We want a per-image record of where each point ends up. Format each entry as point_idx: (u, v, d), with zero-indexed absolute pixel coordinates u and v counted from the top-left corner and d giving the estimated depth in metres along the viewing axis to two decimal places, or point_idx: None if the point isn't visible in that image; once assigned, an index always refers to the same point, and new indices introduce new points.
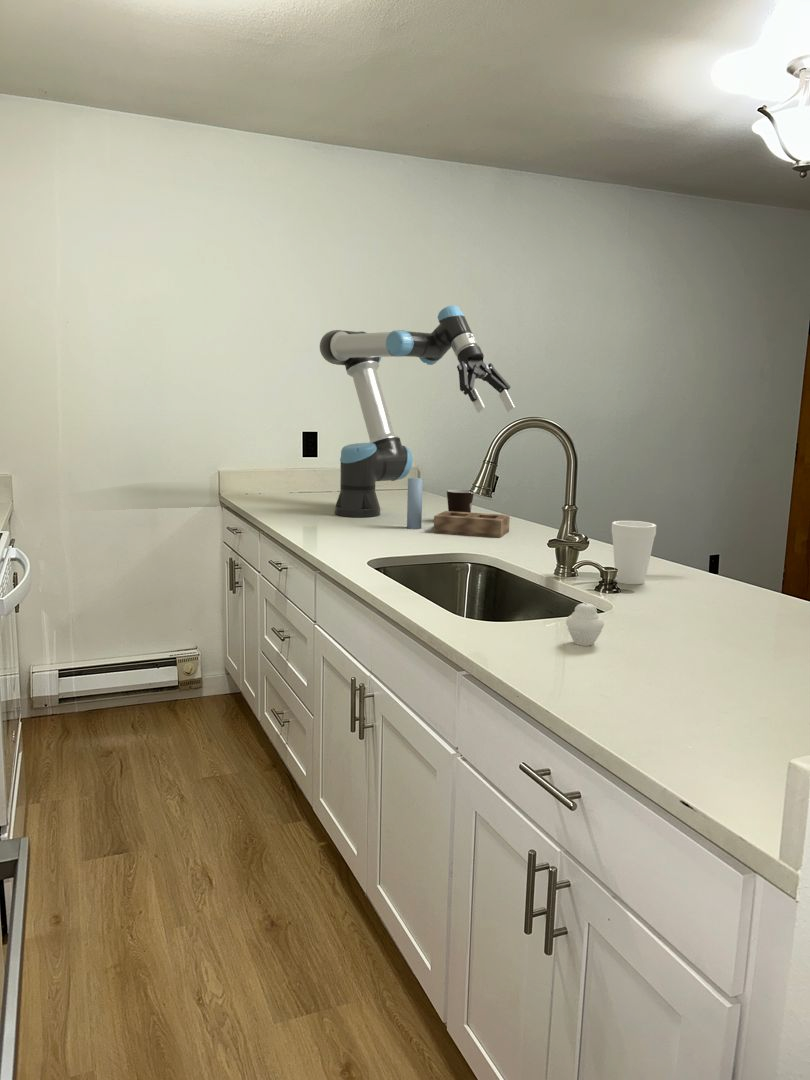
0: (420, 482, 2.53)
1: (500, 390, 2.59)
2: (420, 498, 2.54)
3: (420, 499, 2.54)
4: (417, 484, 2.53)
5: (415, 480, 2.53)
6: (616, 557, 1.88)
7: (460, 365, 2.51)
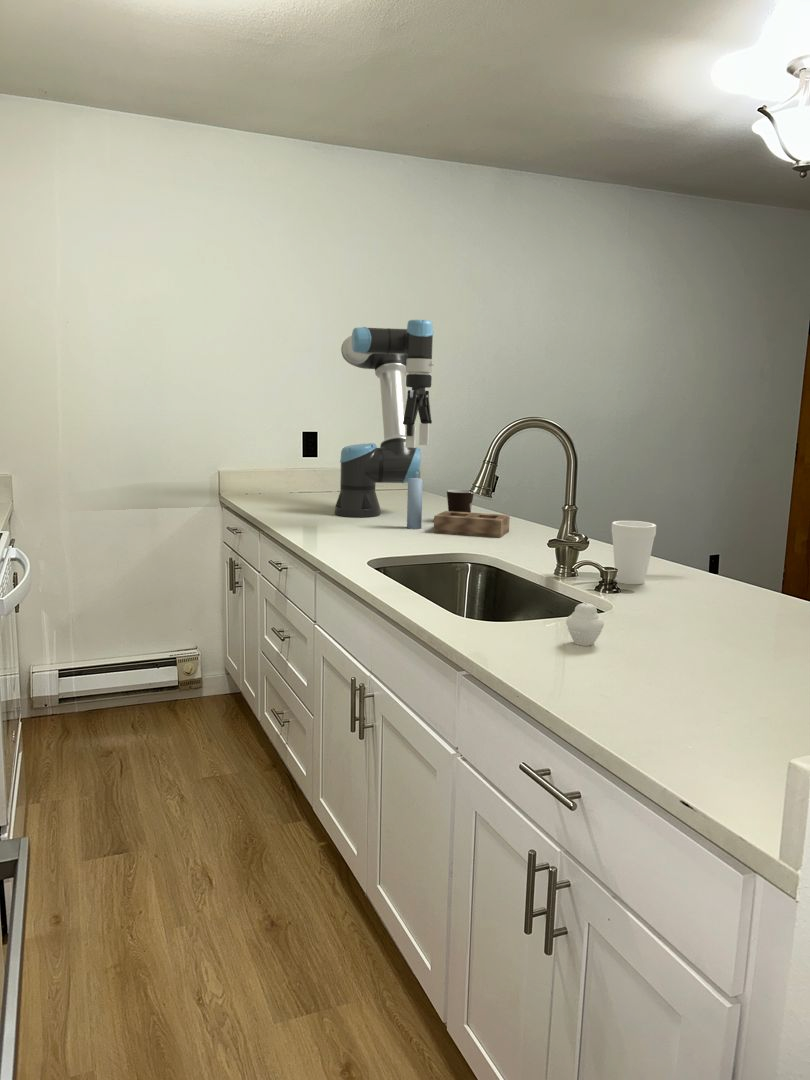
0: (420, 482, 2.53)
1: (422, 419, 2.59)
2: (420, 498, 2.54)
3: (420, 499, 2.54)
4: (417, 484, 2.53)
5: (415, 480, 2.53)
6: (616, 557, 1.88)
7: (412, 393, 2.44)
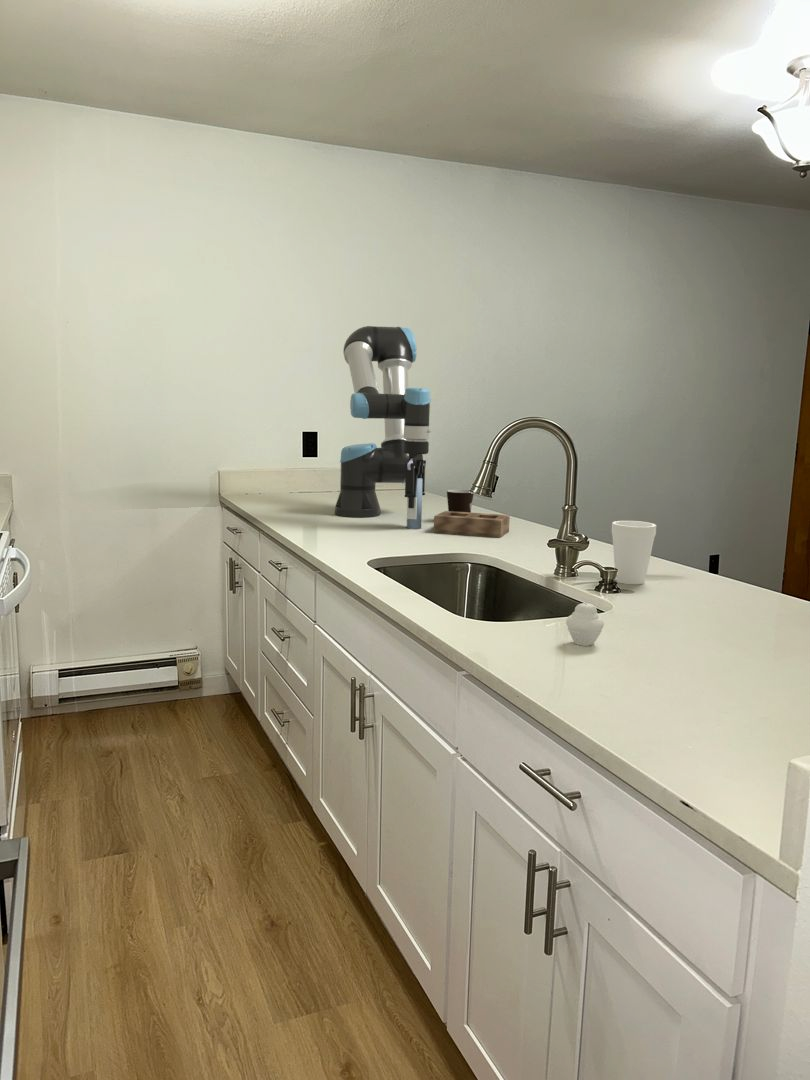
0: (420, 482, 2.53)
1: None
2: (420, 498, 2.54)
3: (420, 499, 2.54)
4: (417, 484, 2.53)
5: None
6: (616, 557, 1.88)
7: (410, 467, 2.48)
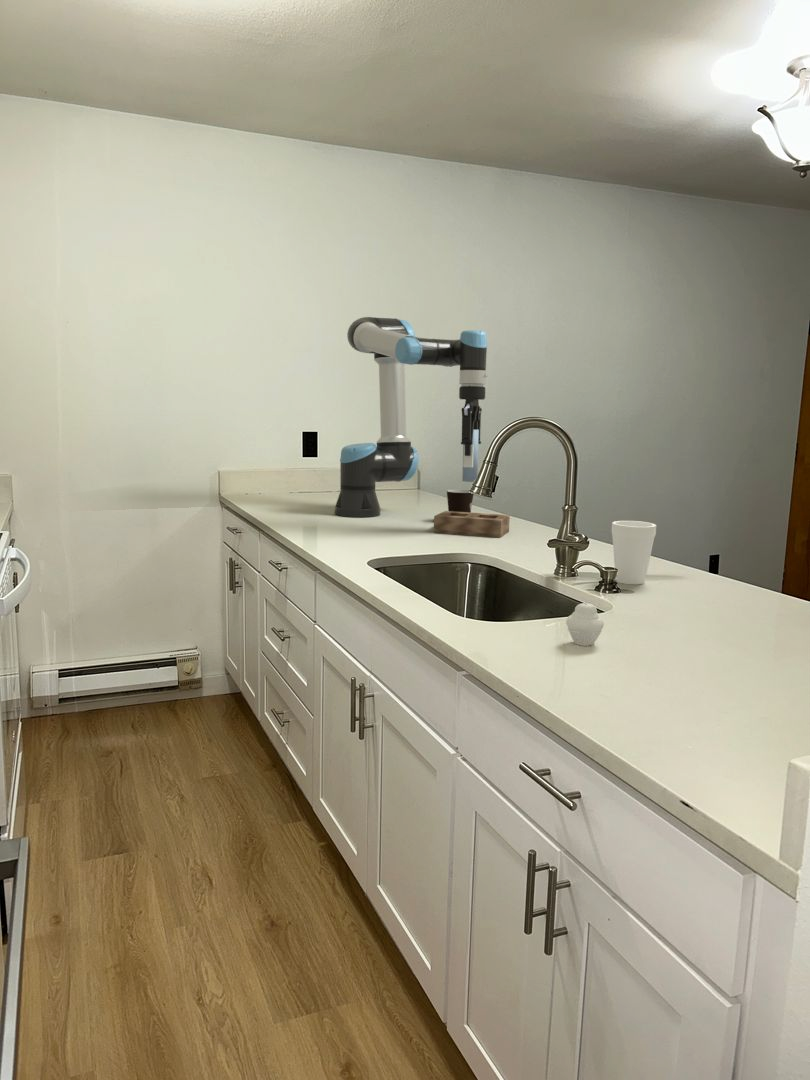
0: (476, 433, 2.45)
1: None
2: (476, 449, 2.46)
3: (476, 450, 2.46)
4: (473, 434, 2.44)
5: None
6: (616, 557, 1.88)
7: (466, 412, 2.39)
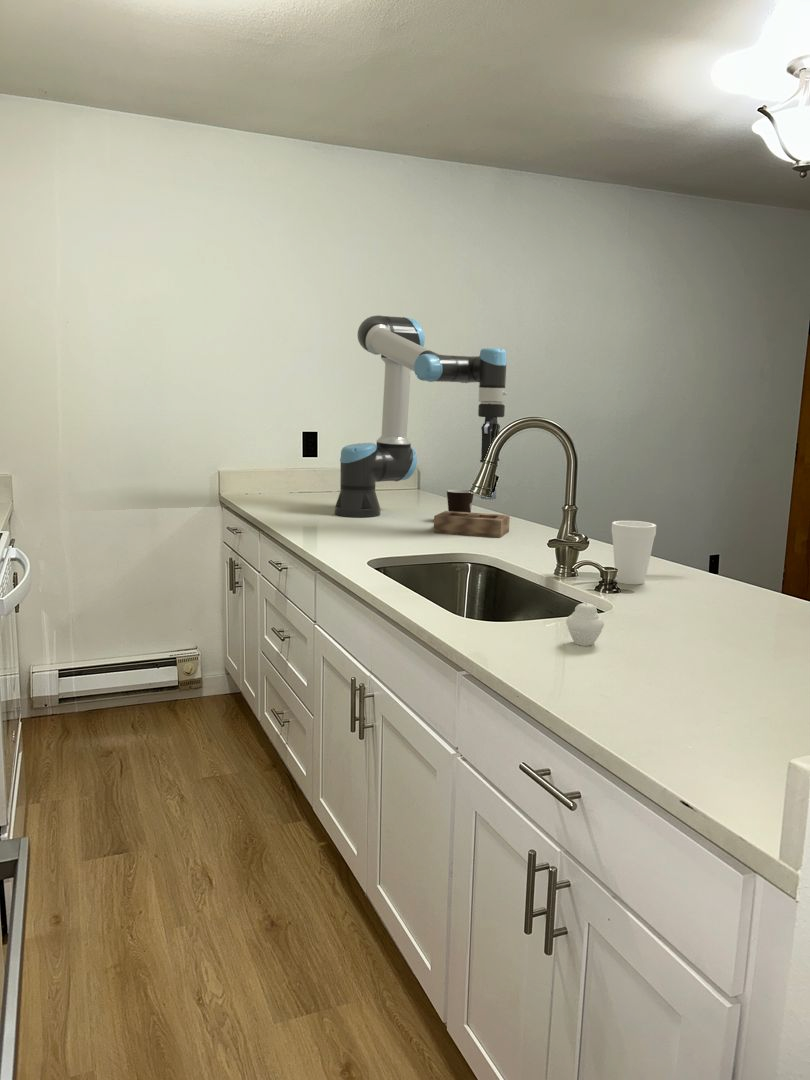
0: None
1: None
2: None
3: None
4: None
5: None
6: (616, 557, 1.88)
7: (486, 430, 2.39)
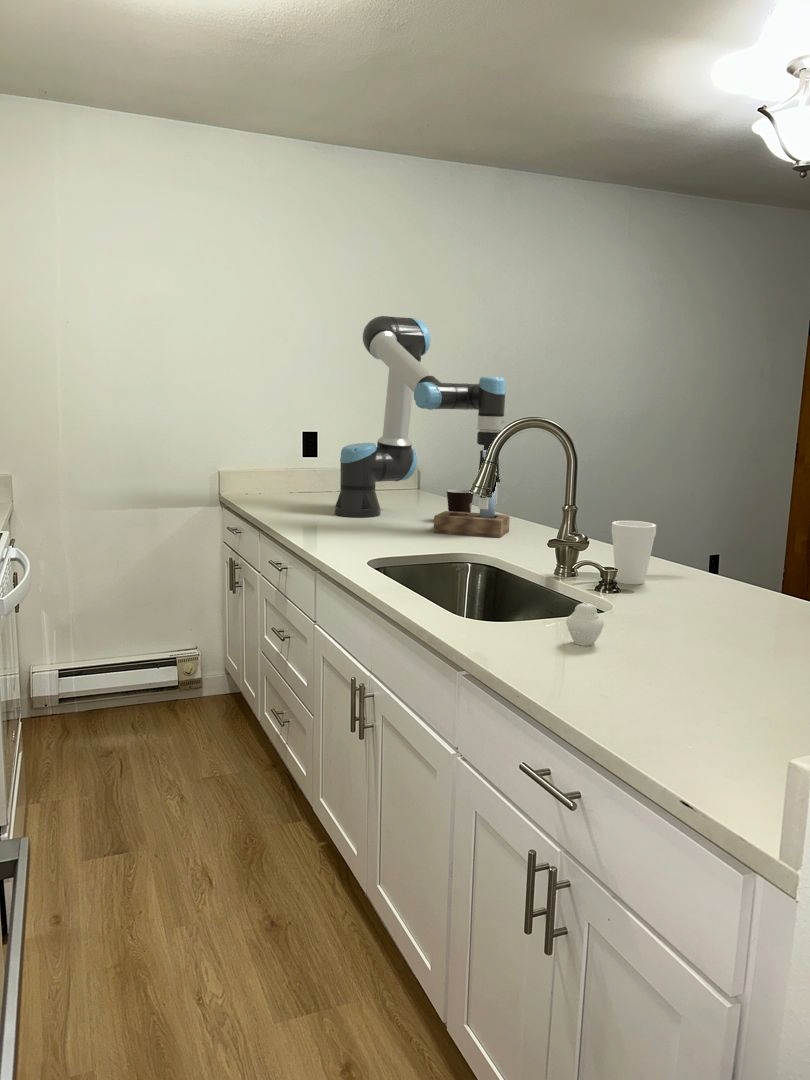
0: None
1: None
2: (494, 499, 2.47)
3: (494, 500, 2.47)
4: None
5: None
6: (616, 557, 1.88)
7: (485, 454, 2.40)
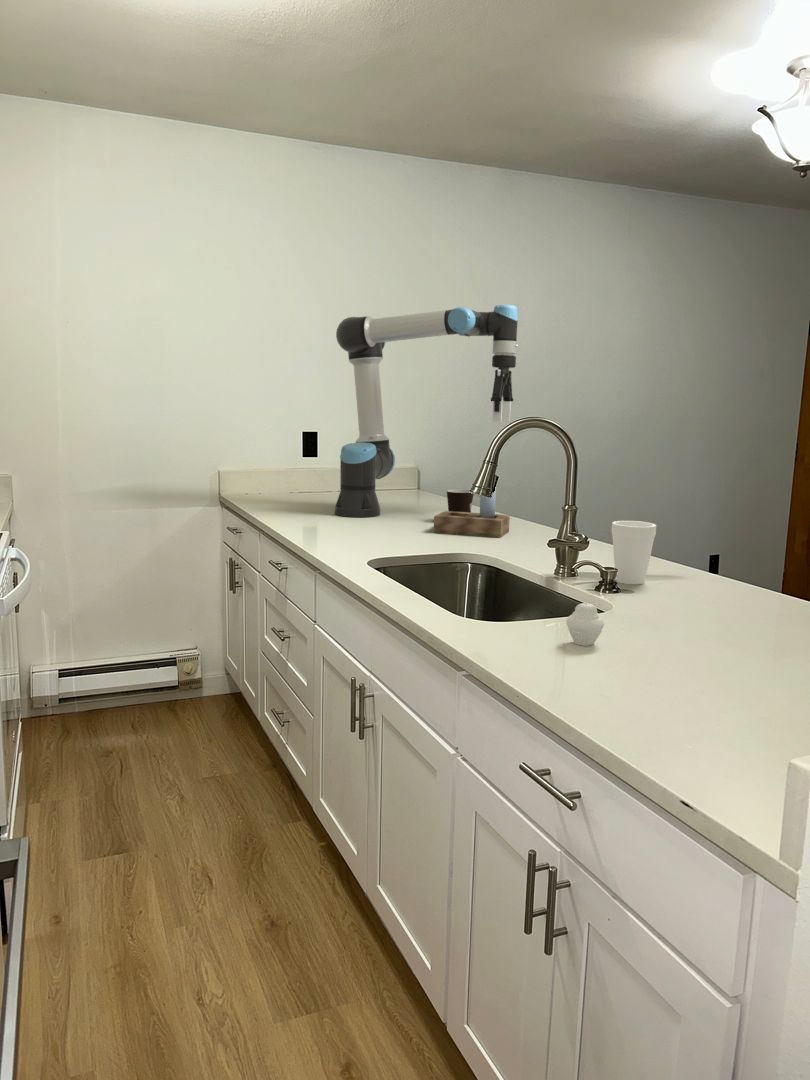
0: None
1: None
2: (494, 499, 2.47)
3: (494, 500, 2.47)
4: None
5: None
6: (616, 557, 1.88)
7: (500, 372, 2.66)
